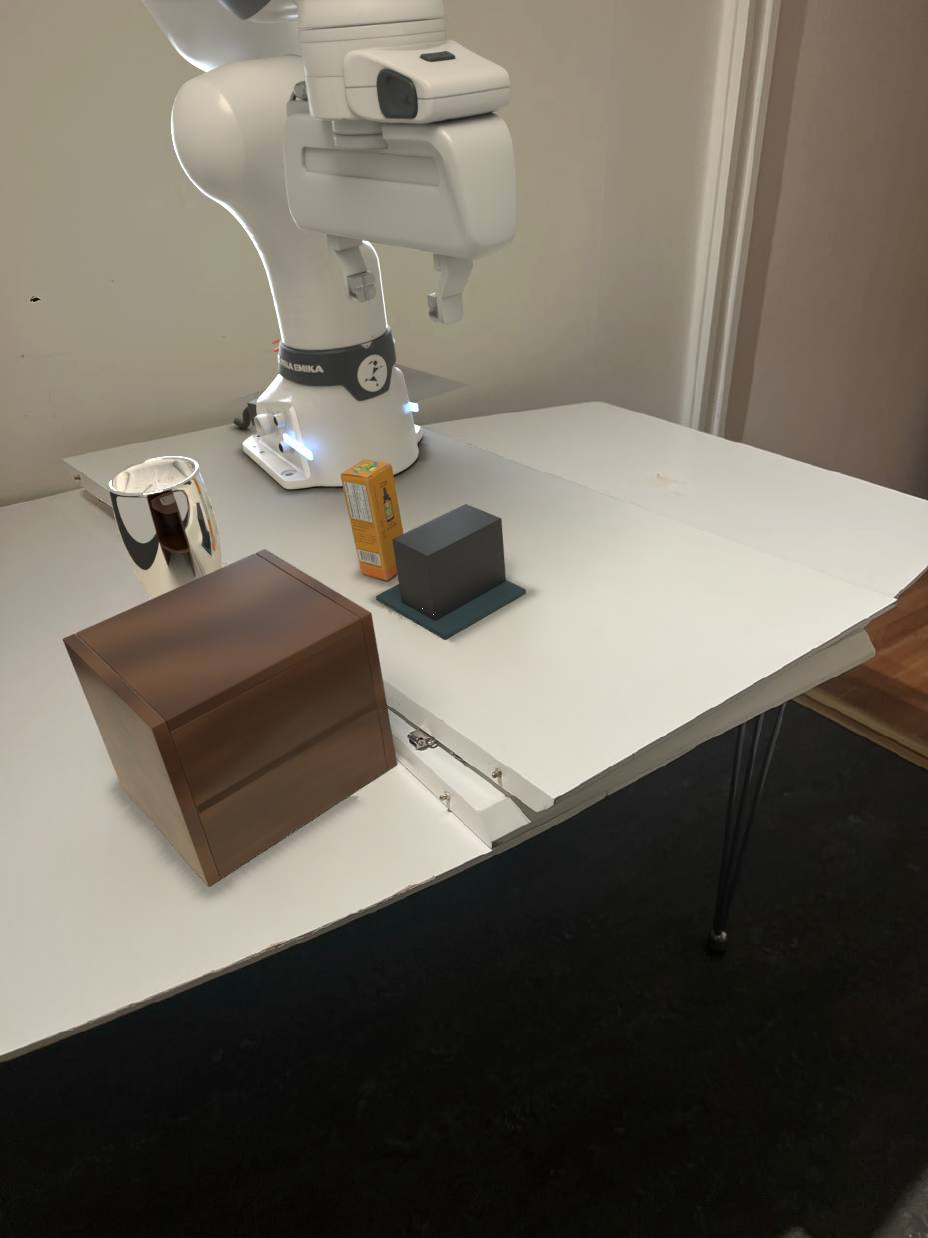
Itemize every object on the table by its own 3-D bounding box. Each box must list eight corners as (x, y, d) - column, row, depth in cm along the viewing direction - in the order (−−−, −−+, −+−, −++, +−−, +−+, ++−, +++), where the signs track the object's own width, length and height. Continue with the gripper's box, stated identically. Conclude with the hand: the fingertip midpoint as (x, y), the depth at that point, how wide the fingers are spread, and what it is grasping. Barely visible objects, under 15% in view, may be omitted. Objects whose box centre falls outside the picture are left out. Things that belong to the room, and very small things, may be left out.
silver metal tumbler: (166, 680, 70) (107, 504, 62) (154, 635, 75) (99, 469, 67) (254, 653, 72) (209, 479, 64) (236, 612, 77) (193, 447, 69)
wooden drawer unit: (121, 786, 60) (61, 638, 54) (298, 689, 68) (264, 548, 61) (208, 887, 52) (151, 728, 46) (397, 764, 60) (372, 612, 53)
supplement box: (380, 557, 83) (364, 455, 78) (410, 565, 81) (395, 462, 76) (356, 574, 81) (338, 470, 76) (386, 583, 79) (370, 478, 74)
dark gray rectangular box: (401, 602, 76) (391, 539, 72) (471, 564, 80) (465, 503, 77) (435, 621, 73) (427, 556, 70) (506, 581, 77) (502, 518, 74)
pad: (376, 599, 77) (375, 595, 77) (455, 558, 82) (454, 554, 82) (445, 639, 71) (444, 635, 71) (526, 593, 76) (525, 589, 76)
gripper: (245, 85, 61) (283, 297, 68) (447, 86, 48) (465, 348, 55) (323, 75, 64) (350, 278, 72) (531, 73, 51) (537, 322, 59)
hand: (402, 309), depth 63 cm, fingers open, 8 cm apart
